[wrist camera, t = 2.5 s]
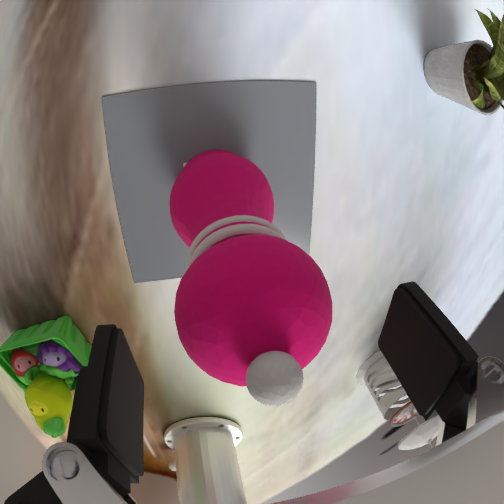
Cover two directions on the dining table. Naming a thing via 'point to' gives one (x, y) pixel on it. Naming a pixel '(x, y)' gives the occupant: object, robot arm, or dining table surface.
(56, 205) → the dining table surface
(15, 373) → the fruit basket
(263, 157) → the tile
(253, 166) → the pepper mill
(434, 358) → the robot arm
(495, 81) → the house plant
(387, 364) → the french press
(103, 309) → the dining table surface
